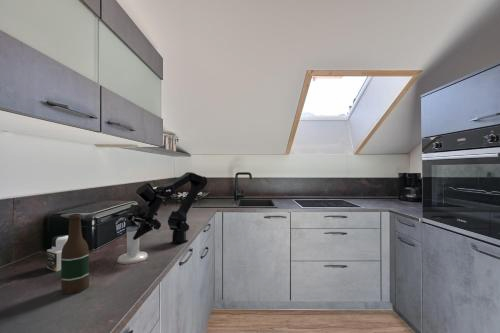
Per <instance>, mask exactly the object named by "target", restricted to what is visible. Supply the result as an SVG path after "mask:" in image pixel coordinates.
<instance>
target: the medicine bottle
mask: <svg viewBox="0 0 500 333" xmlns="http://www.w3.org/2000/svg"><path fill="white" fill-rule="evenodd" d="M67 240H68V234H62V235H56V236H54V237H53V238H52V239H51V248H49V249H46V268H47V269H49V270H52V271H54V272H61V254H62V249H63V246H64V244H65V243H66V241H67Z"/></svg>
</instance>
